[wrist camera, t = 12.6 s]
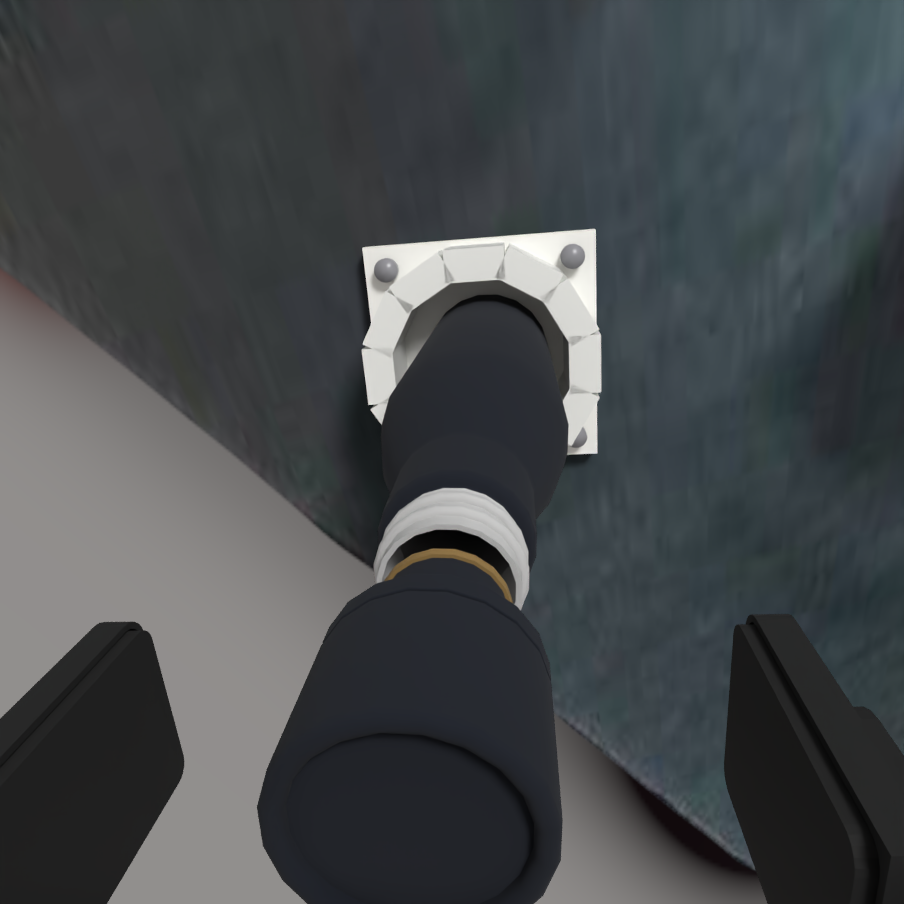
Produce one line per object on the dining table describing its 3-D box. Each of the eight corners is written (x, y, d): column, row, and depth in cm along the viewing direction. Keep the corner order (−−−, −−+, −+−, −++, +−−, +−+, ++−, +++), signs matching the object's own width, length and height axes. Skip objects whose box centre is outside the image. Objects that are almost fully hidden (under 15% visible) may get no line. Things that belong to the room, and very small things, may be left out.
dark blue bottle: (558, 303, 35) (740, 672, 7) (536, 419, 37) (609, 1051, 9) (437, 285, 35) (146, 574, 7) (423, 401, 38) (157, 968, 10)
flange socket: (593, 228, 35) (606, 231, 30) (595, 447, 39) (606, 480, 34) (366, 246, 36) (344, 252, 31) (390, 456, 40) (374, 489, 35)
